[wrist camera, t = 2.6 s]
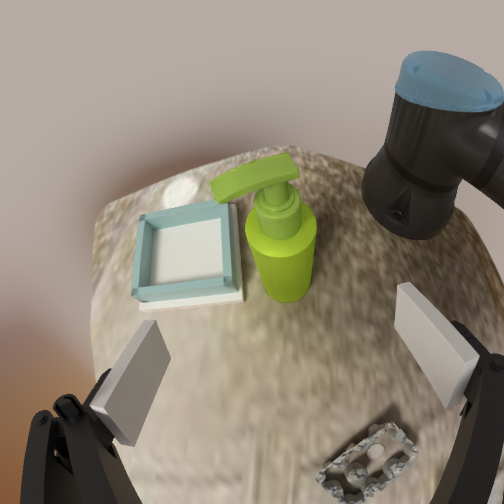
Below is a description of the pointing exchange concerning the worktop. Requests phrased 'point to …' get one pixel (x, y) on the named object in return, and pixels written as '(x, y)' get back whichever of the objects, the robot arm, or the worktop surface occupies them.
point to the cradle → (188, 258)
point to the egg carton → (359, 473)
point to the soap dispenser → (274, 223)
